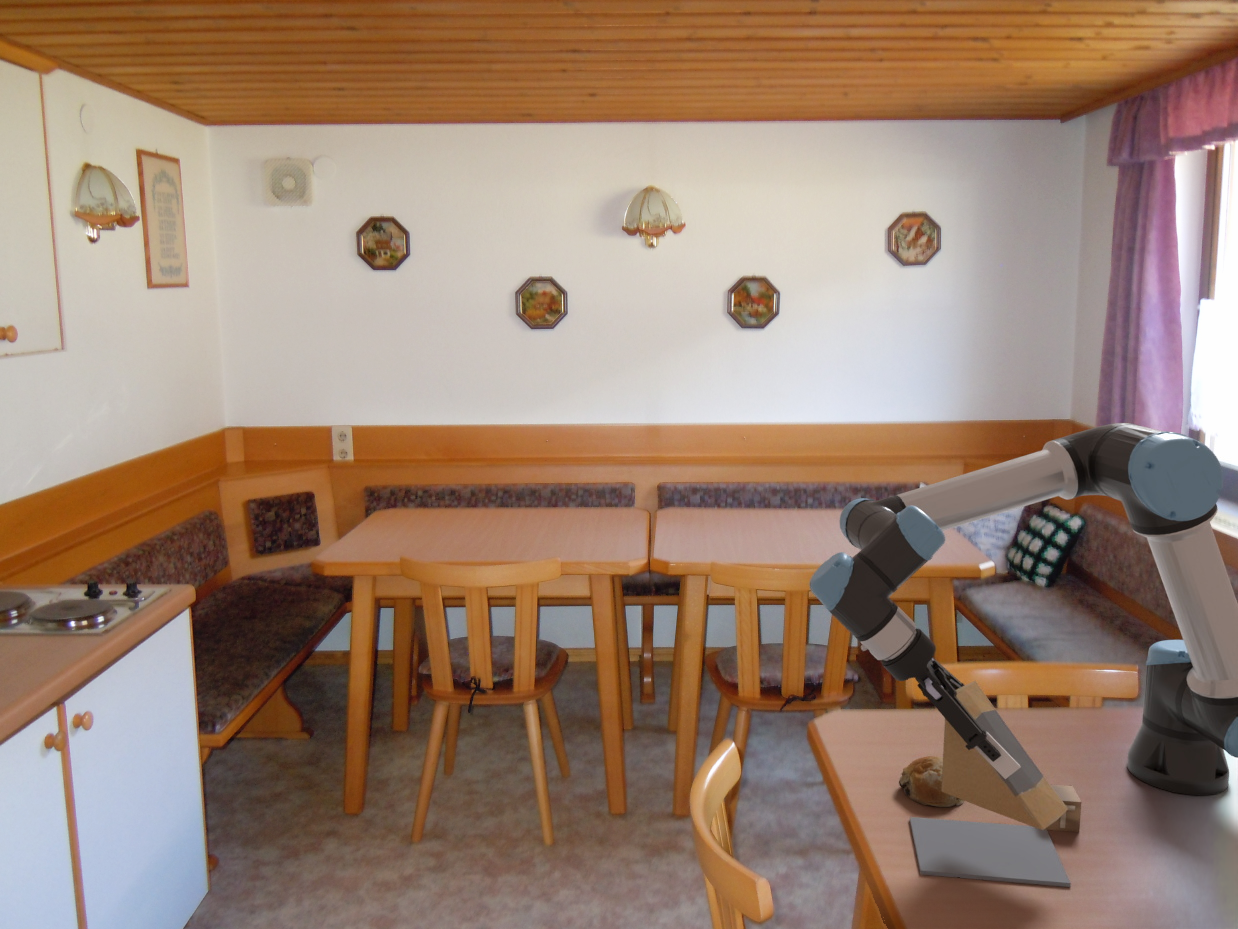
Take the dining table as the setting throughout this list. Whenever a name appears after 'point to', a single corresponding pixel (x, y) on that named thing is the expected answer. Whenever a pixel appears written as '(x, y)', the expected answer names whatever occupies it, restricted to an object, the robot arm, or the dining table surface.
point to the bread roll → (926, 783)
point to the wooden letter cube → (1072, 815)
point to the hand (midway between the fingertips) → (1003, 752)
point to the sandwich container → (982, 783)
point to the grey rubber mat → (987, 852)
